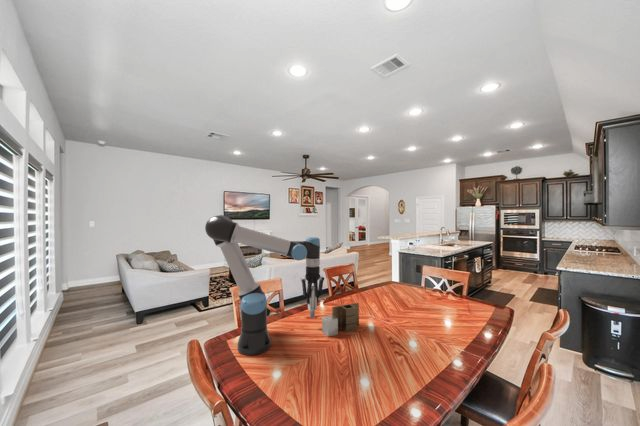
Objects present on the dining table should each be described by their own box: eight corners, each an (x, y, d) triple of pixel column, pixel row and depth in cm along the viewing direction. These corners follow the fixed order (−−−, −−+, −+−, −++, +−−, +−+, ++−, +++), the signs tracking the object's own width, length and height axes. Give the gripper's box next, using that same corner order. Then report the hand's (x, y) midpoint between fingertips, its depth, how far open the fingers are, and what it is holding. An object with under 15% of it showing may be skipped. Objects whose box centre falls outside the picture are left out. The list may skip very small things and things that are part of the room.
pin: (310, 319, 142) (310, 287, 142) (308, 316, 145) (308, 286, 145) (316, 318, 143) (316, 287, 143) (313, 316, 146) (314, 285, 146)
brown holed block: (346, 332, 137) (346, 309, 137) (340, 327, 143) (340, 305, 143) (364, 328, 142) (364, 306, 142) (358, 324, 148) (357, 302, 148)
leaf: (327, 336, 133) (327, 312, 133) (322, 331, 138) (321, 308, 139) (356, 330, 140) (356, 307, 140) (350, 325, 146) (350, 303, 146)
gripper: (301, 268, 137) (301, 313, 137) (328, 266, 144) (328, 309, 144) (296, 265, 144) (296, 308, 144) (322, 263, 151) (322, 305, 151)
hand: (312, 309), depth 144 cm, fingers closed on pin, 2 cm apart
